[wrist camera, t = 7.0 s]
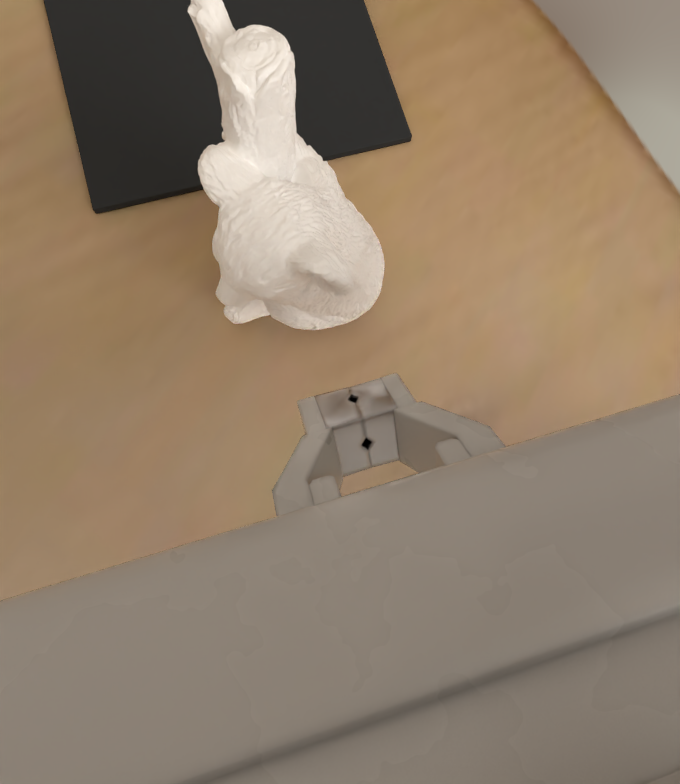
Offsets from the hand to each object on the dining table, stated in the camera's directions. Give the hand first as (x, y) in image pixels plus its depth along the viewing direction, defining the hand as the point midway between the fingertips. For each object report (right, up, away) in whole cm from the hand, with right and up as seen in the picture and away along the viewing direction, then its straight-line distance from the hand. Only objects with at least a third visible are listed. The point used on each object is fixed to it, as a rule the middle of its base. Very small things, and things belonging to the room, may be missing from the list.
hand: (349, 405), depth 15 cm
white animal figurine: (-3, +5, +10) cm, 11 cm away
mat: (-7, +21, +12) cm, 25 cm away
